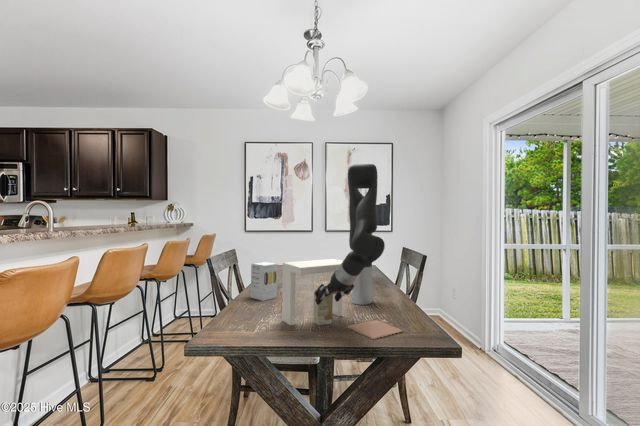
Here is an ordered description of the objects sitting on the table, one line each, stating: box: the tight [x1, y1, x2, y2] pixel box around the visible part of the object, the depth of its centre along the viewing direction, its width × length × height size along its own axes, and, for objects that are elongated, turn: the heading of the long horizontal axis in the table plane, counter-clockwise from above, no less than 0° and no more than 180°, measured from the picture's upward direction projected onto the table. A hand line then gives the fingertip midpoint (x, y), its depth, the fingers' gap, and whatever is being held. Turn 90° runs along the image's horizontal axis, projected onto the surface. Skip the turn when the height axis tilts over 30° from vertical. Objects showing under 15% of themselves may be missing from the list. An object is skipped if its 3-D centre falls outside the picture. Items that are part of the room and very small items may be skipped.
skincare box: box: [312, 289, 333, 326], centre depth 132 cm, size 6×4×12 cm
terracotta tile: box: [347, 319, 404, 340], centre depth 125 cm, size 14×14×1 cm
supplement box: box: [250, 261, 278, 302], centre depth 170 cm, size 10×9×17 cm
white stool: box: [281, 258, 344, 326], centre depth 135 cm, size 24×14×22 cm, turn 123°
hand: (326, 300), depth 130 cm, fingers open, 8 cm apart
